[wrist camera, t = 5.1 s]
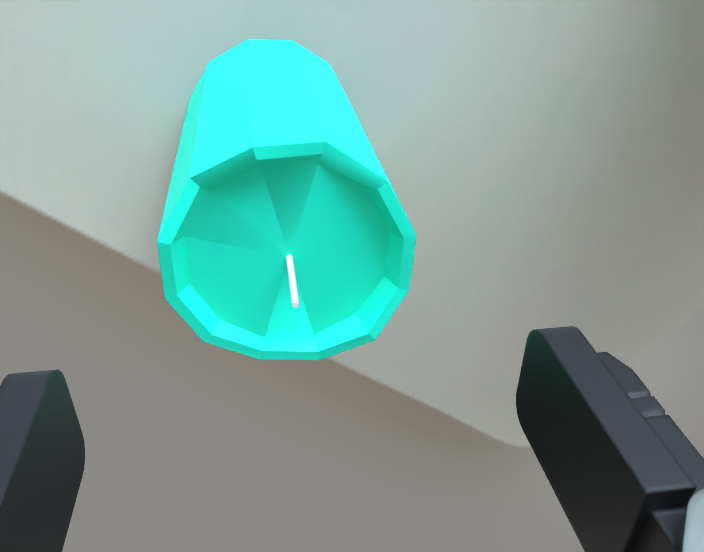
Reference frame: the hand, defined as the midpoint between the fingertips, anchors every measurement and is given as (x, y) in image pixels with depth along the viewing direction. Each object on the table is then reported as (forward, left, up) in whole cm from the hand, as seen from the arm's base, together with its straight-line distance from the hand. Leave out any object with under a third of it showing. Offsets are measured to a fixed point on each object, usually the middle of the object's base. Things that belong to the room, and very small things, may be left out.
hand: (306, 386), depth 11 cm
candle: (0, 0, -15) cm, 15 cm away
